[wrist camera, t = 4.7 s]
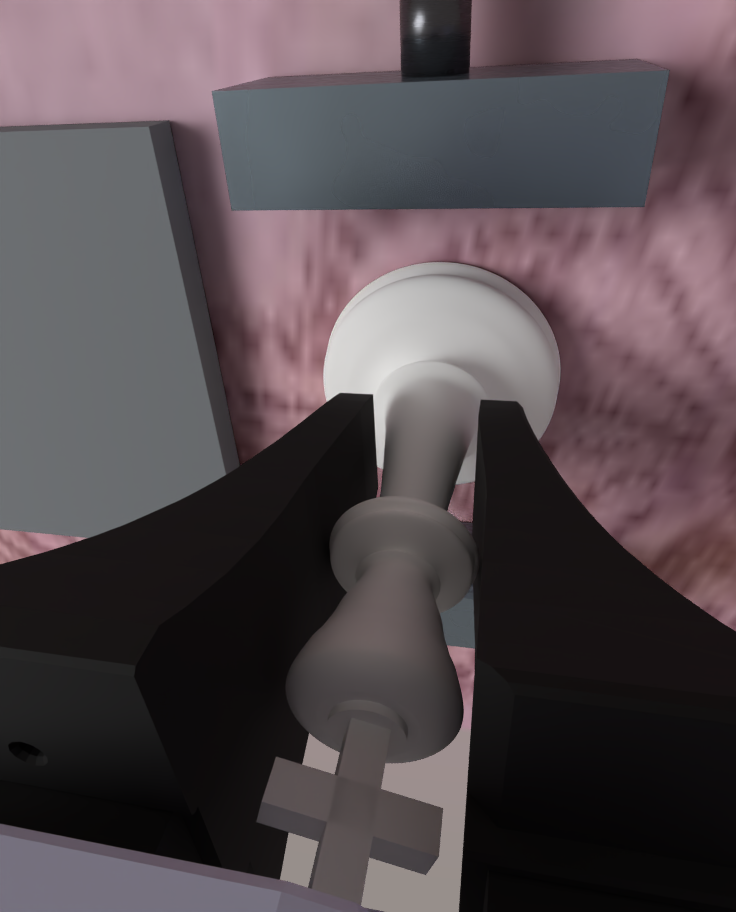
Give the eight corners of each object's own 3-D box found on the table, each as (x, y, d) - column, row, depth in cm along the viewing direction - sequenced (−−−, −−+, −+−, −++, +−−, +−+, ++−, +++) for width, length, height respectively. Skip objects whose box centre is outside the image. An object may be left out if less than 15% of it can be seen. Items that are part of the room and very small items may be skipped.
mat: (169, 120, 12) (148, 126, 11) (253, 532, 17) (243, 553, 17) (-264, 137, 13) (-304, 143, 13) (-60, 504, 19) (-80, 521, 18)
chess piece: (510, 495, 15) (506, 1065, 7) (310, 435, 15) (72, 925, 7) (601, 301, 12) (788, 898, 4) (352, 229, 12) (24, 662, 4)
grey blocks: (665, -115, 9) (710, -152, 7) (555, 578, 16) (560, 658, 14) (249, -74, 10) (179, -98, 8) (326, 556, 17) (301, 627, 15)
